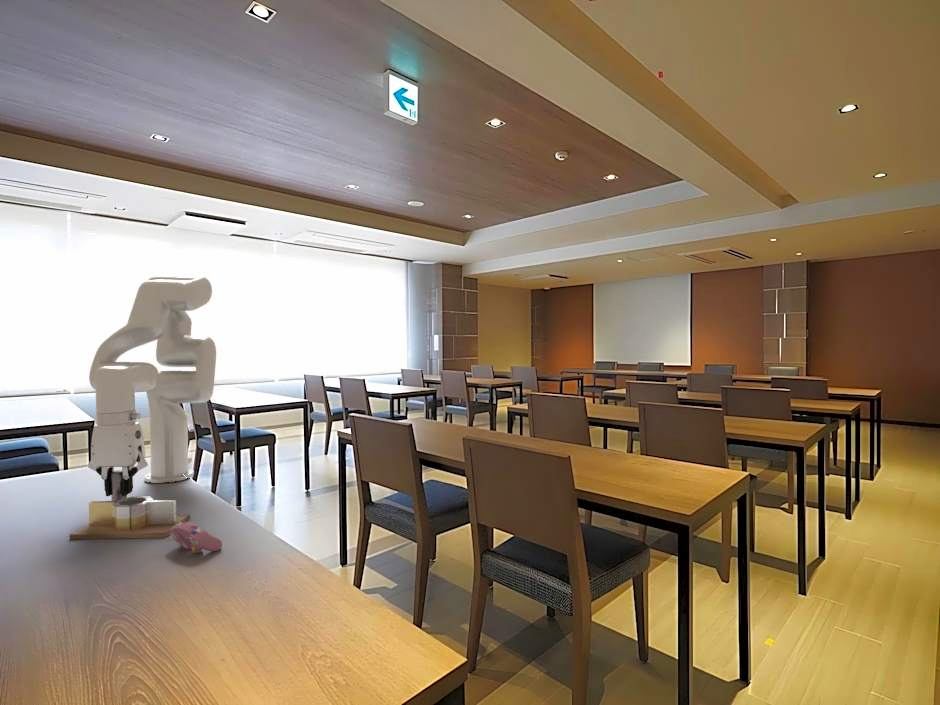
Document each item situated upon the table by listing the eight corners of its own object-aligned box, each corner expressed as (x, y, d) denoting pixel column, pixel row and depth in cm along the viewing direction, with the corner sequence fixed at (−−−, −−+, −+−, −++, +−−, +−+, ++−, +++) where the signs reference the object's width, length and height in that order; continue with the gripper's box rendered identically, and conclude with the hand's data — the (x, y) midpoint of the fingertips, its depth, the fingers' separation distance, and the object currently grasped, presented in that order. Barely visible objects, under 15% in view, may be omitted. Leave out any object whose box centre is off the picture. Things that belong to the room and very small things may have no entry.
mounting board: (104, 519, 116) (104, 515, 116) (190, 518, 117) (190, 514, 117) (69, 539, 105) (69, 534, 105) (165, 537, 106) (165, 532, 106)
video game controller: (175, 553, 102) (159, 528, 99) (194, 536, 106) (179, 511, 103) (207, 564, 98) (191, 538, 95) (226, 546, 101) (211, 520, 98)
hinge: (101, 518, 114) (101, 496, 114) (183, 517, 115) (182, 495, 115) (79, 531, 107) (78, 507, 107) (166, 529, 108) (166, 506, 108)
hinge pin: (116, 502, 122) (115, 470, 122) (129, 502, 122) (128, 469, 122) (108, 507, 119) (107, 473, 119) (122, 507, 119) (120, 473, 119)
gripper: (160, 415, 124) (163, 488, 125) (90, 414, 122) (93, 489, 124) (143, 421, 116) (145, 499, 117) (68, 421, 115) (72, 500, 116)
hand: (119, 493), depth 121 cm, fingers closed on hinge pin, 2 cm apart
